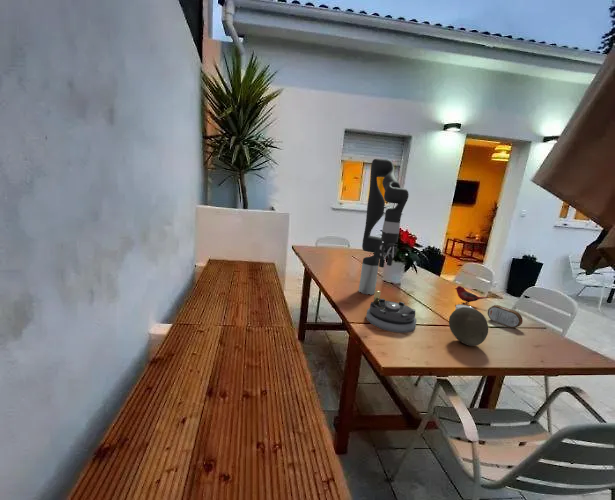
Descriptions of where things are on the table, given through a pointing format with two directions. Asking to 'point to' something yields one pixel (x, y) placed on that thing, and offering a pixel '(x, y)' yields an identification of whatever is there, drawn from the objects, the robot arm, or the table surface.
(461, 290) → the decorative bird figurine
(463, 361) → the table surface
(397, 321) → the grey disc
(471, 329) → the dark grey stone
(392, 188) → the robot arm
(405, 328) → the base plate
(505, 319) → the tin
